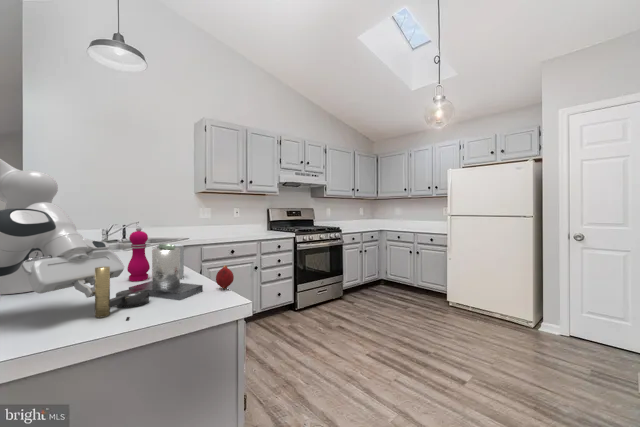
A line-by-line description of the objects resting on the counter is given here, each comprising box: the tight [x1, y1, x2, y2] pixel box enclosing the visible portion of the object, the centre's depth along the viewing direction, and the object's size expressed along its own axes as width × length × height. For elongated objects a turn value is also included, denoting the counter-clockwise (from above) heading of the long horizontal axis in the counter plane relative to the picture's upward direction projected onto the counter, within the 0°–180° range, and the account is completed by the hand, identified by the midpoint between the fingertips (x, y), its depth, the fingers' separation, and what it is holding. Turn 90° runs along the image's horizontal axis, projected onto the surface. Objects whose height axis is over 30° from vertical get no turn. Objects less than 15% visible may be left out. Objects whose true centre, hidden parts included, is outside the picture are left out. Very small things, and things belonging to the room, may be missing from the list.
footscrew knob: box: [94, 266, 150, 318], centre depth 80 cm, size 8×16×12 cm, turn 172°
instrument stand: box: [125, 243, 204, 321], centre depth 87 cm, size 20×27×16 cm
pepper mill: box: [126, 226, 151, 283], centre depth 112 cm, size 7×7×20 cm
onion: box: [215, 264, 235, 289], centre depth 101 cm, size 6×6×8 cm
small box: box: [156, 243, 185, 280], centre depth 114 cm, size 8×6×13 cm
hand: (95, 294), depth 74 cm, fingers closed, pressing on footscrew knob
